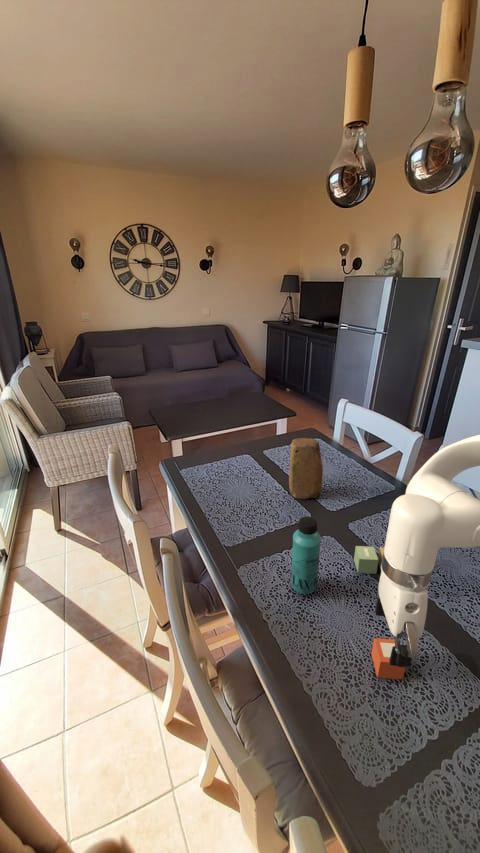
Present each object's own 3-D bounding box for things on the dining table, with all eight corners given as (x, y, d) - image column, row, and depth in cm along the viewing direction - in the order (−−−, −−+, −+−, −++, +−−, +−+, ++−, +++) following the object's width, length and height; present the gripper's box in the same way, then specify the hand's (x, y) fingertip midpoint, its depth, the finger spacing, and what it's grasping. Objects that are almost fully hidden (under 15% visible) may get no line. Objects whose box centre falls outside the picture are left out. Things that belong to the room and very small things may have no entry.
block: (288, 499, 120) (290, 445, 112) (288, 487, 127) (290, 435, 119) (321, 501, 119) (325, 447, 111) (320, 488, 125) (323, 436, 117)
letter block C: (395, 655, 71) (398, 639, 69) (402, 679, 67) (406, 663, 65) (371, 653, 72) (374, 637, 70) (377, 677, 67) (380, 661, 65)
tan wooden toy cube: (395, 561, 94) (398, 547, 92) (401, 575, 89) (404, 560, 88) (377, 560, 94) (379, 546, 92) (382, 574, 90) (384, 559, 88)
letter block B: (371, 560, 94) (374, 546, 92) (376, 573, 90) (378, 559, 88) (353, 559, 95) (355, 545, 93) (357, 573, 90) (359, 558, 89)
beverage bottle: (284, 587, 87) (286, 520, 79) (302, 573, 91) (306, 508, 83) (305, 604, 82) (309, 535, 74) (323, 589, 86) (329, 521, 78)
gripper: (454, 613, 51) (430, 690, 58) (412, 532, 67) (397, 599, 73) (399, 610, 52) (382, 685, 58) (370, 530, 67) (359, 597, 74)
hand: (390, 637), depth 66 cm, fingers open, 9 cm apart
